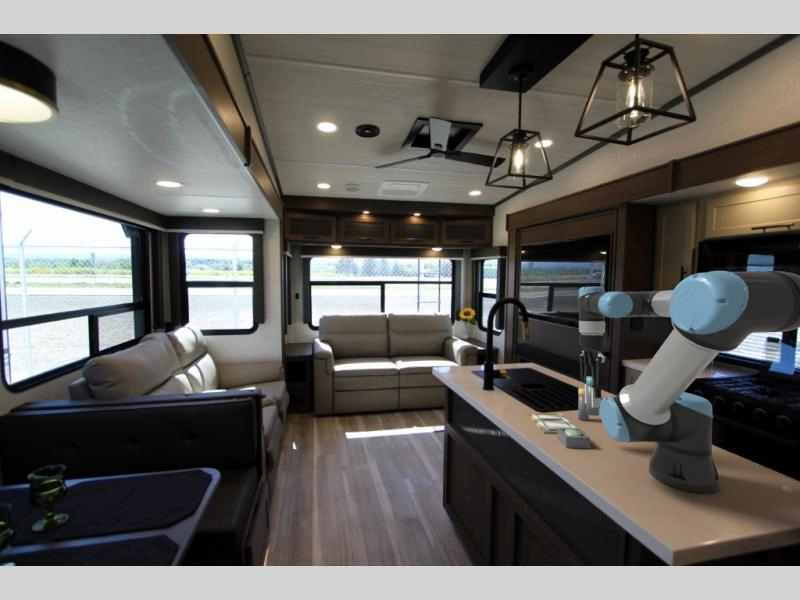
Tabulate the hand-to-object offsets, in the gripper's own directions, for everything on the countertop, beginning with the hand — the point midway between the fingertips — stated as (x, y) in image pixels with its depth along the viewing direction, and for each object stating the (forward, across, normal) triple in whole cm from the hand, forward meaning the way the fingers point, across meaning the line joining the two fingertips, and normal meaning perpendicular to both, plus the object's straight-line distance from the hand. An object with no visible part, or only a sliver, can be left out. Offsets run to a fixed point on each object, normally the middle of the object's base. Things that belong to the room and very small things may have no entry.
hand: (593, 405), depth 117 cm
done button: (+13, +2, +6) cm, 15 cm away
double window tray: (+13, +19, +5) cm, 23 cm away
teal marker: (+3, 0, 0) cm, 3 cm away
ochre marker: (+12, +23, -8) cm, 28 cm away
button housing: (+13, +2, +6) cm, 15 cm away
